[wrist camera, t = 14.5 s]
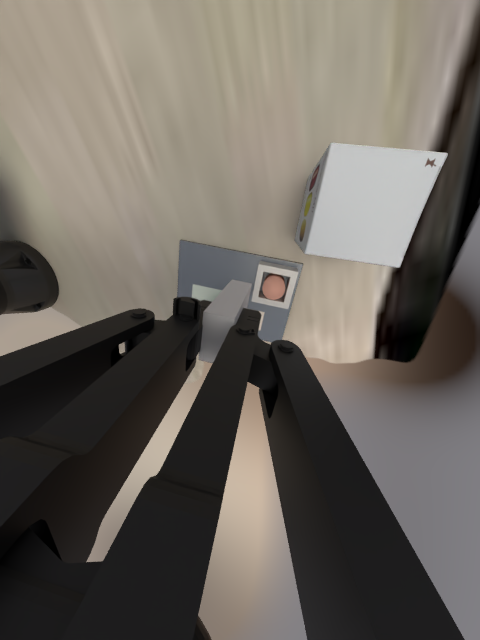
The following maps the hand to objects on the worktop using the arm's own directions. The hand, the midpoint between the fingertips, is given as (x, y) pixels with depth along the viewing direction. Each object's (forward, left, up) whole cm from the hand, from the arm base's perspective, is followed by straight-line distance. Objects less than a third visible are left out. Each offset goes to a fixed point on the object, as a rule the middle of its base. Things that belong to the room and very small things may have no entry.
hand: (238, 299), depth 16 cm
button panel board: (-4, -8, -24) cm, 26 cm away
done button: (+3, -4, -23) cm, 24 cm away
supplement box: (+9, +8, -25) cm, 27 cm away
